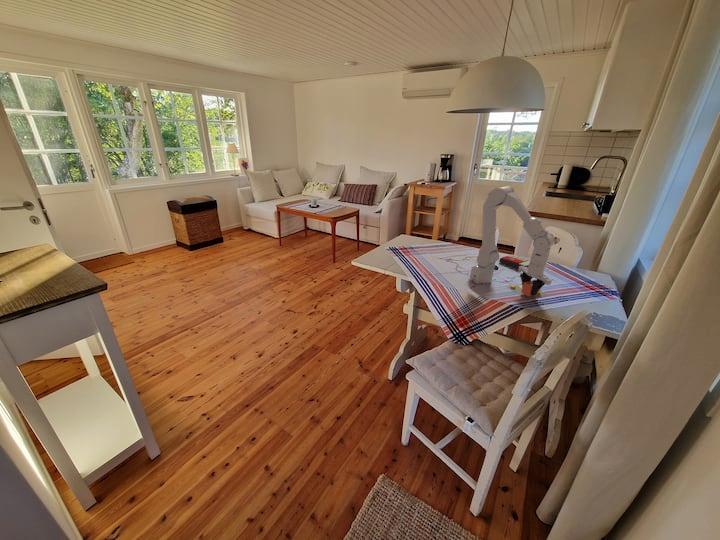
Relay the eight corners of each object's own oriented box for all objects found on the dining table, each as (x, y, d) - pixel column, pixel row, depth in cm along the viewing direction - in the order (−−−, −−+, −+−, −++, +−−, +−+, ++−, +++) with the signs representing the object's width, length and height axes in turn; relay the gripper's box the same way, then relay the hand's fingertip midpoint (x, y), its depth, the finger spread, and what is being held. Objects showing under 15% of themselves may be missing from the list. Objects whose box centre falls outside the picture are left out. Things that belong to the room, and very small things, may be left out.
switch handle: (532, 293, 125) (534, 286, 124) (529, 291, 127) (531, 284, 126) (540, 292, 126) (542, 285, 125) (536, 290, 128) (538, 283, 127)
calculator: (511, 253, 165) (538, 261, 153) (510, 260, 166) (536, 268, 154) (499, 257, 159) (526, 265, 148) (498, 264, 161) (524, 273, 149)
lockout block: (528, 296, 121) (531, 286, 119) (521, 292, 125) (524, 281, 123) (536, 295, 123) (539, 284, 121) (528, 291, 126) (531, 280, 124)
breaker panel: (526, 302, 122) (527, 297, 121) (505, 289, 132) (506, 284, 131) (548, 298, 125) (549, 293, 124) (525, 285, 135) (527, 281, 135)
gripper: (561, 269, 113) (551, 299, 118) (530, 255, 125) (522, 283, 131) (547, 271, 111) (537, 301, 116) (517, 257, 123) (510, 285, 129)
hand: (528, 292), depth 123 cm, fingers closed on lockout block, 4 cm apart
